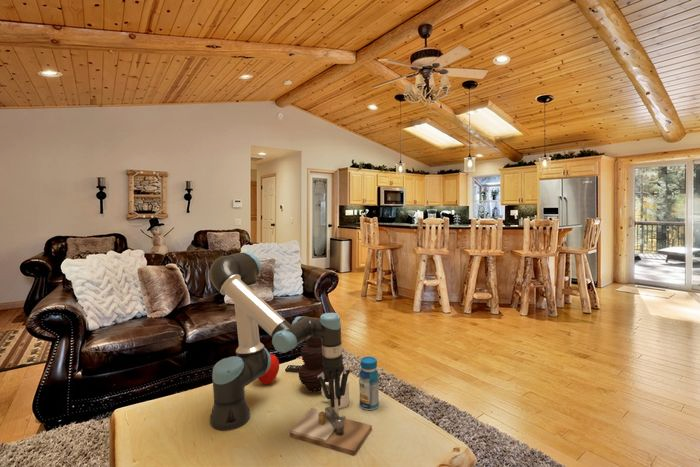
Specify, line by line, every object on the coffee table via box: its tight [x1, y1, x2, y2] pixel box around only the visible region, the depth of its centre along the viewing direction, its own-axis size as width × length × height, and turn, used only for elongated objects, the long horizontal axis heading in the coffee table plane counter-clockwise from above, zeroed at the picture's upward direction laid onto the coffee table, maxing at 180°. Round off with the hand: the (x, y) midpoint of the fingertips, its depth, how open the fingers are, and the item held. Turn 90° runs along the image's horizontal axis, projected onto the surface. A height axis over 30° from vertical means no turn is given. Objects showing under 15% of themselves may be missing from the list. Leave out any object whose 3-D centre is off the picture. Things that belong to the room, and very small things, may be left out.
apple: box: [257, 353, 280, 385], centre depth 181 cm, size 12×12×13 cm
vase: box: [297, 338, 328, 393], centre depth 173 cm, size 15×15×30 cm
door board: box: [289, 407, 373, 456], centre depth 141 cm, size 26×16×7 cm, turn 65°
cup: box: [320, 375, 350, 409], centre depth 161 cm, size 8×12×10 cm
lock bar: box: [324, 405, 344, 435], centre depth 142 cm, size 12×3×5 cm, turn 27°
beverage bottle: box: [358, 356, 380, 411], centre depth 159 cm, size 8×8×20 cm
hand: (336, 414), depth 146 cm, fingers closed
